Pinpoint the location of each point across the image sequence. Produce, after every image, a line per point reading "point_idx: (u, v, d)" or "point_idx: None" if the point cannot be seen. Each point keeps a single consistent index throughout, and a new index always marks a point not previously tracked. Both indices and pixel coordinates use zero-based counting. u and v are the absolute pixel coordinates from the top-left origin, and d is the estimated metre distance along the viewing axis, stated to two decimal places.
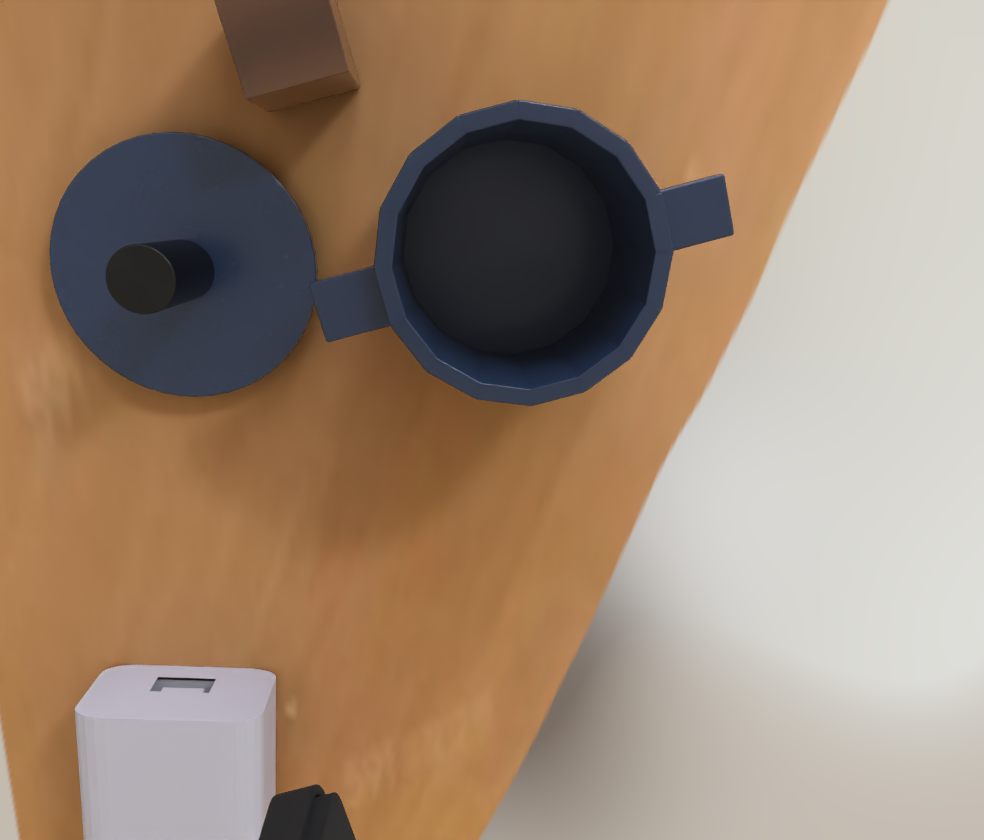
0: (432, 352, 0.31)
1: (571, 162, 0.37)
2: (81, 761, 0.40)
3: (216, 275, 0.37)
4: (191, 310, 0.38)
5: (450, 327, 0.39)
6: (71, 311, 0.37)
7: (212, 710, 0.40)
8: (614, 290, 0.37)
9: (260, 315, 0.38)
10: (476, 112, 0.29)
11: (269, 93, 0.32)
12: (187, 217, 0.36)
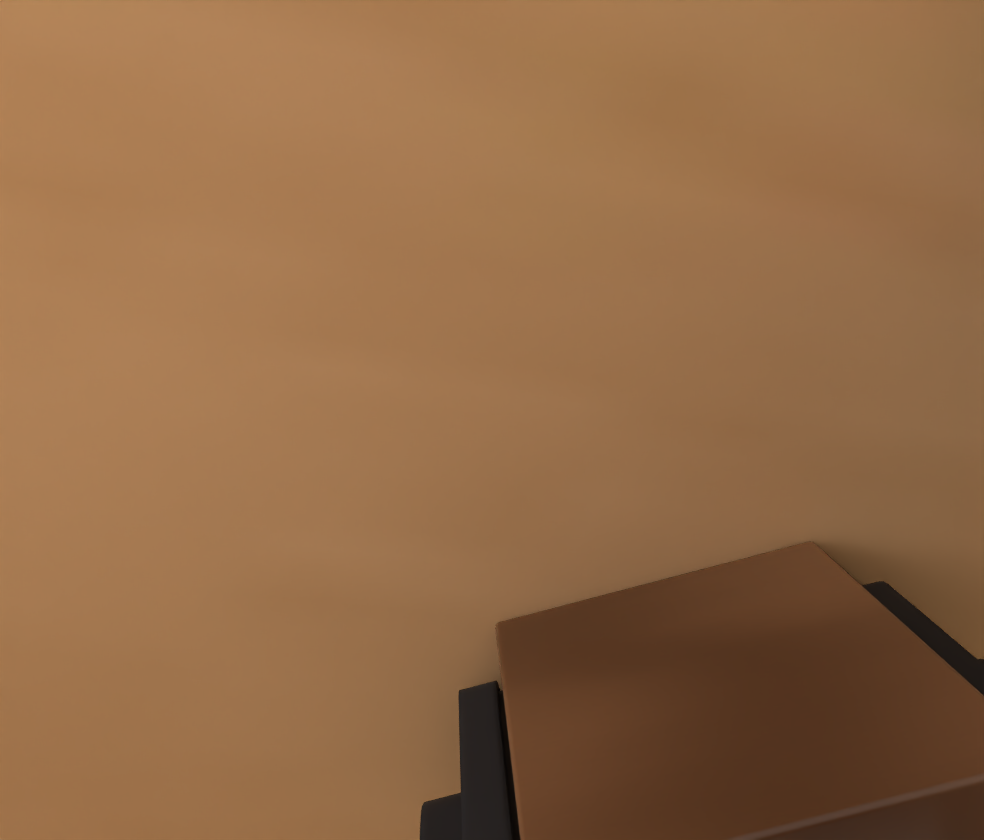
0: None
1: None
2: None
3: None
4: None
5: None
6: None
7: None
8: None
9: None
10: None
11: None
12: None
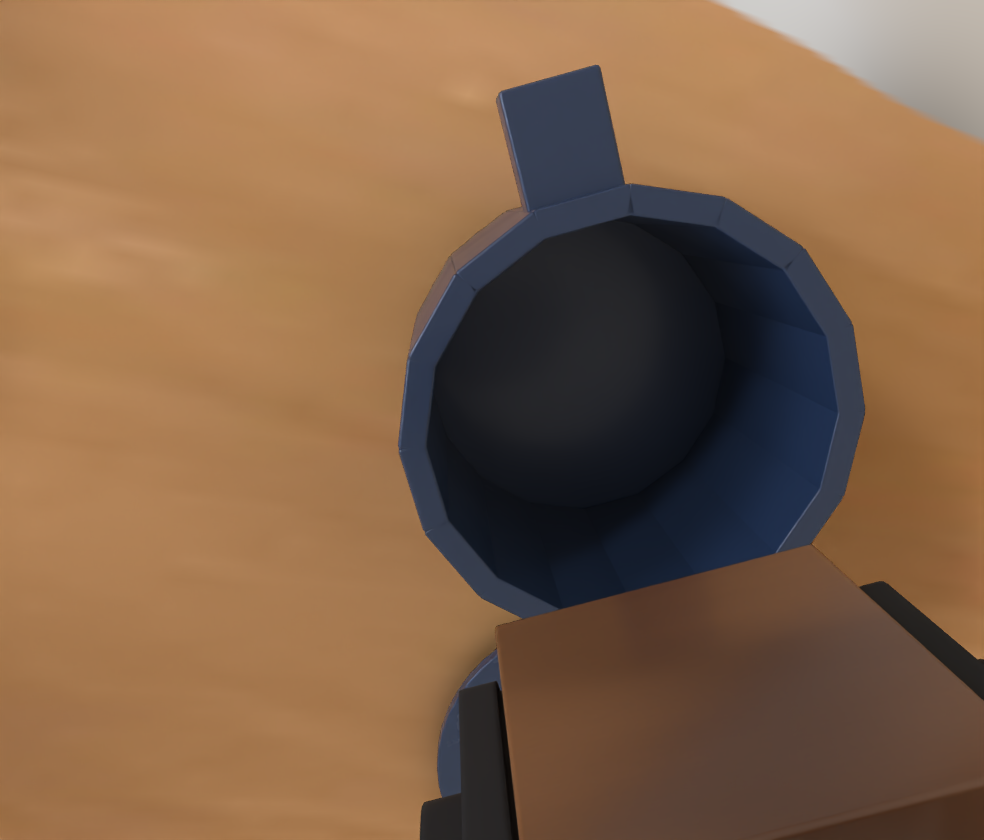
0: None
1: None
2: None
3: None
4: None
5: (681, 445, 0.28)
6: None
7: None
8: (651, 225, 0.24)
9: None
10: (419, 508, 0.19)
11: None
12: None
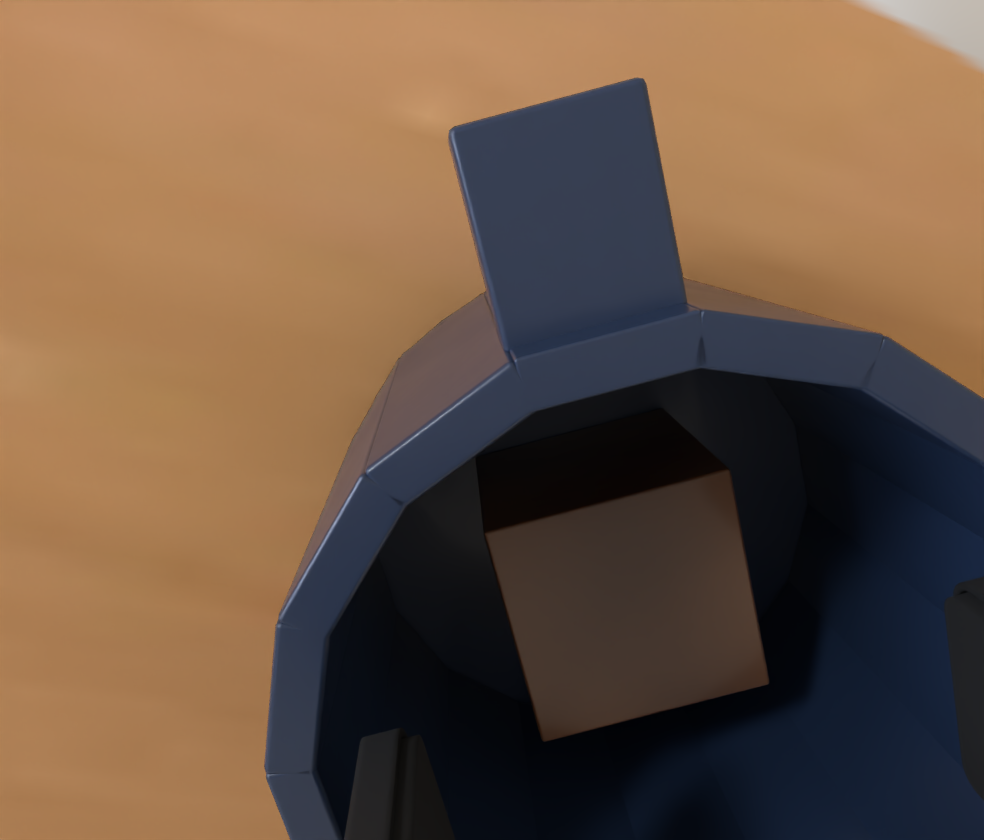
0: None
1: None
2: None
3: None
4: None
5: None
6: None
7: None
8: None
9: None
10: None
11: (760, 636, 0.15)
12: None
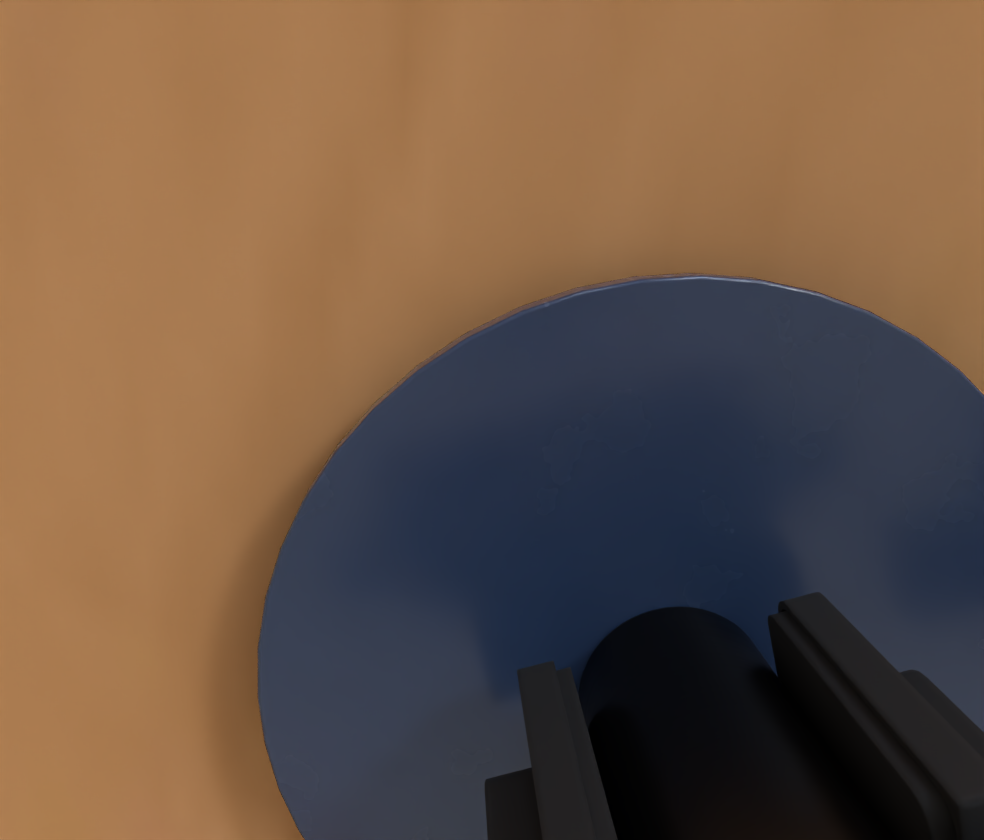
0: None
1: None
2: None
3: None
4: None
5: None
6: (313, 810, 0.12)
7: None
8: None
9: None
10: None
11: None
12: (706, 540, 0.11)
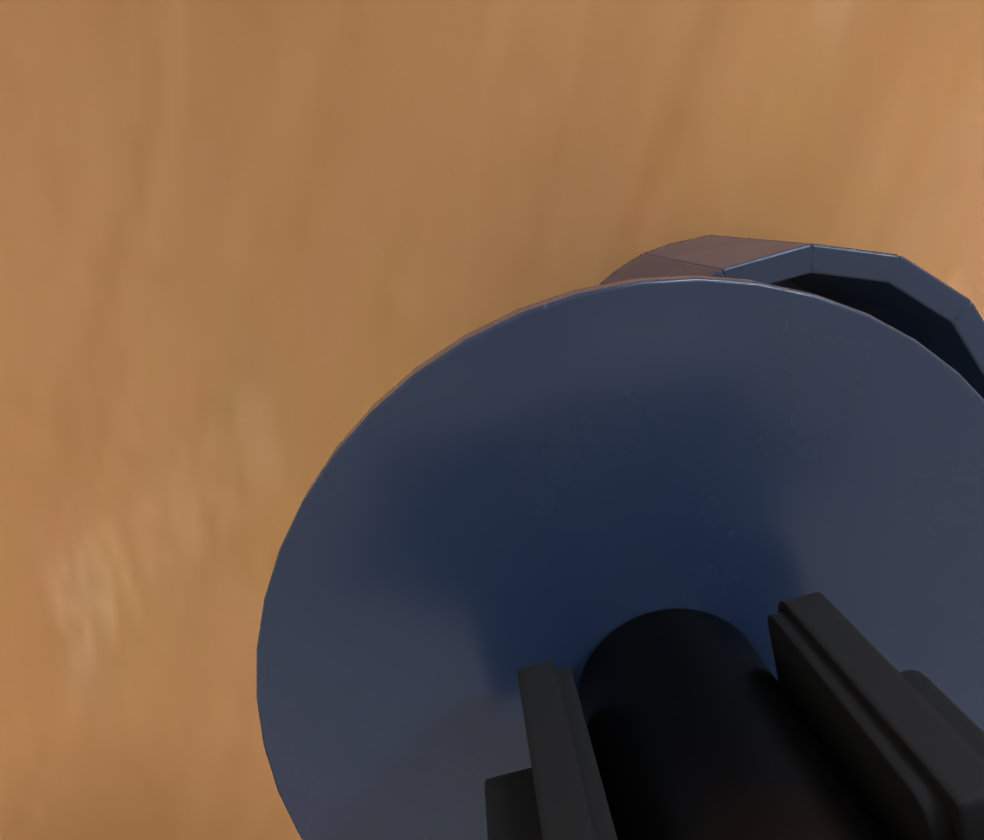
0: None
1: (797, 285, 0.27)
2: None
3: None
4: None
5: None
6: (312, 812, 0.12)
7: None
8: None
9: None
10: (749, 264, 0.19)
11: None
12: (704, 542, 0.11)
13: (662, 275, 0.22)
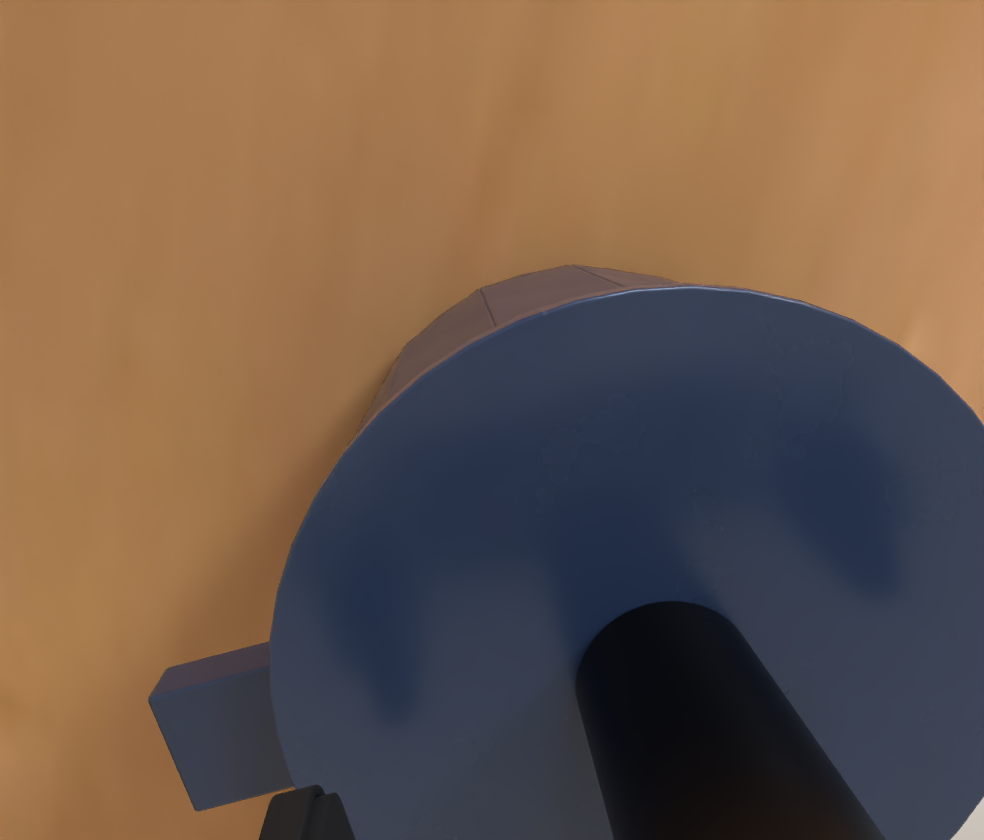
0: None
1: None
2: None
3: None
4: None
5: None
6: None
7: None
8: None
9: (857, 788, 0.13)
10: None
11: None
12: (697, 537, 0.12)
13: (460, 331, 0.15)
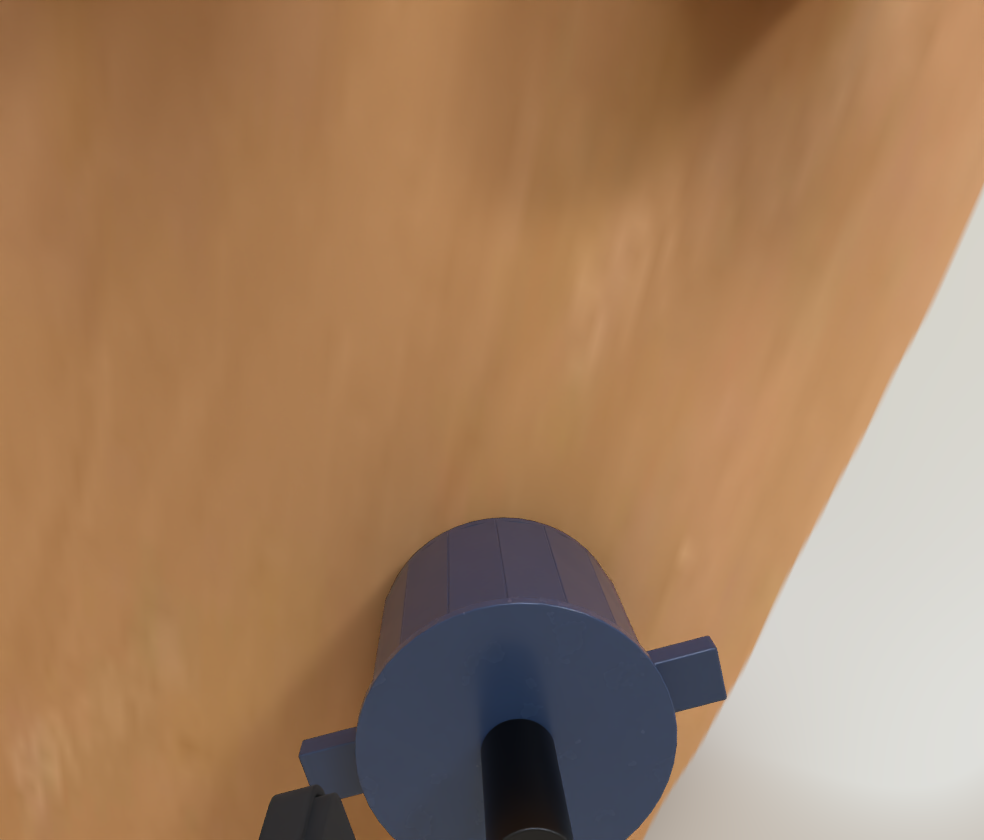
0: None
1: None
2: None
3: (555, 755, 0.30)
4: None
5: None
6: (375, 798, 0.30)
7: None
8: None
9: (603, 794, 0.30)
10: None
11: None
12: (528, 694, 0.29)
13: (435, 585, 0.32)
